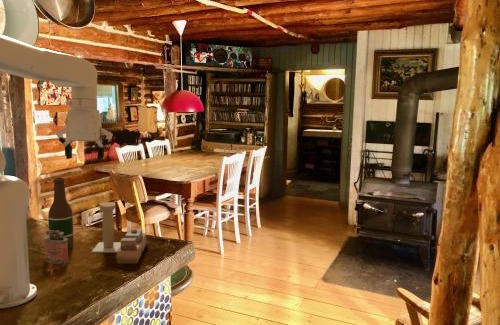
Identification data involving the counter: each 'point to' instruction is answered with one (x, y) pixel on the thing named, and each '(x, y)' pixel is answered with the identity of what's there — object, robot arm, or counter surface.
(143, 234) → the body
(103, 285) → the counter surface
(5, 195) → the robot arm
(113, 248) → the felt pad
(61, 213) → the brown glass bottle
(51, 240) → the lighter
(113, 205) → the handle
